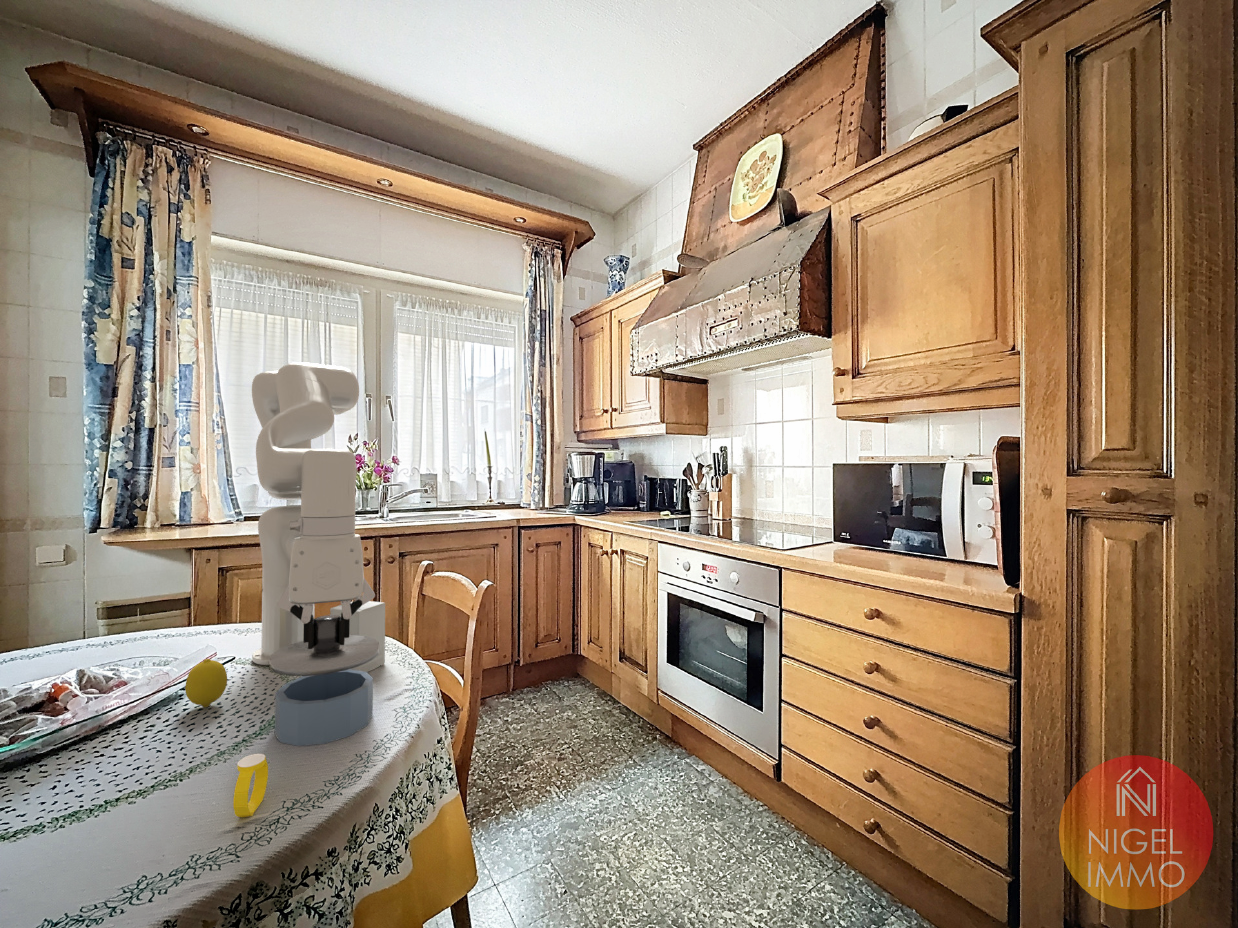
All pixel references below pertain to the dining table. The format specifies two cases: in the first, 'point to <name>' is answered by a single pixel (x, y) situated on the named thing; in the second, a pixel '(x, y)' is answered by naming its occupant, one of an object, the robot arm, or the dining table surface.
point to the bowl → (323, 707)
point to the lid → (324, 652)
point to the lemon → (206, 682)
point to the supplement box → (368, 629)
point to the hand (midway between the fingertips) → (326, 643)
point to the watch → (243, 783)
